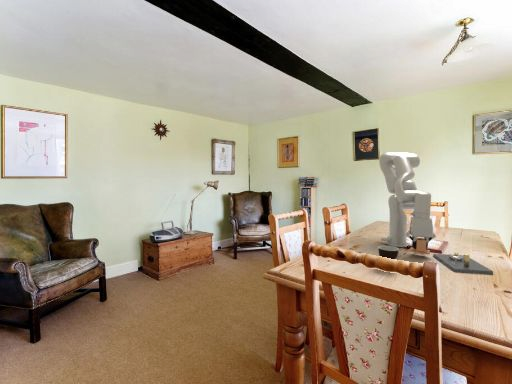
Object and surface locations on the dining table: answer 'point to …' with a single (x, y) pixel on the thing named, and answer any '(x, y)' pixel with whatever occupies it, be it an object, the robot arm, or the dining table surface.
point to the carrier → (462, 263)
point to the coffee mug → (388, 252)
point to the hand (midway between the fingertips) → (419, 248)
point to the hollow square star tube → (420, 247)
